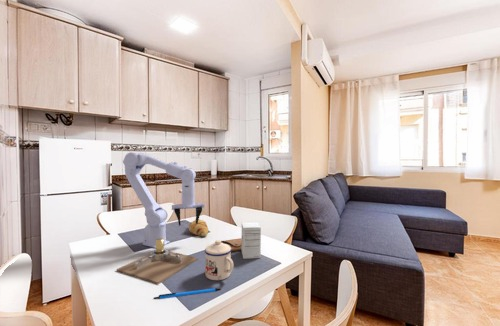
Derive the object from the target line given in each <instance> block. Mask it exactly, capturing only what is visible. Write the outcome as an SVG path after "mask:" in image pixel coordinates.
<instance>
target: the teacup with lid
mask: <svg viewBox="0 0 500 326" xmlns="http://www.w3.org/2000/svg"><path fill="white" fill-rule="evenodd" d="M221 241H222V240H221V239H217V240H215V241H214V242H213V243H211V244H208V245H207V246H206V247H205V248H204V253H205V254H204V255H205V256H204V259H205V261H204V262H205V263H204V264H205V265H204V266H205V270H204V271H205V274H204V275H205V277H206V278H207V279H209V280H211V281H223V280H225V279H226V280H227V278H229V277H230V275H231V273H232V272H233V270H234V267H235V266H234V261H233V259H232V258H231V257H232V256H231V254H232V253H231V247H230V246H229V245H227V244H224V243H221Z"/></svg>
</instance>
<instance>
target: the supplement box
mask: <svg viewBox="0 0 500 326" xmlns="http://www.w3.org/2000/svg"><path fill="white" fill-rule="evenodd" d="M261 230H262V229H261V225H260V224H259V222H258V221H257V222H255V221H252V222H241V238H242V251H241V254H242V259H261V258H262V256H261V253H262V252H261V251H262V250H261V246H262V245H261V244H262V243H261V241H262V239H261V238H262V237H261V235H262V233H261V232H262V231H261Z"/></svg>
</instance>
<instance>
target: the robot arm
mask: <svg viewBox="0 0 500 326" xmlns="http://www.w3.org/2000/svg"><path fill="white" fill-rule="evenodd" d="M122 163H123V165H124V172H125V173H124V174H125V178H126V179H127V180H128V182H129V184H130V186H131V188H132V189H133V191H134V192H135V194H136V196H137V198H138V199H139V201H140V203H141V204H142V206H143V207H144V215H145V218H146V223H147V224H146V226H145V227H144V230H143V243H142V245H143V246H147V247H151V248H155V249H156V239H159V238H163V239H164V246H165V245H167V244H170V241H169V240H167V238H166V237H167V235H166V233H167V230H166V229H167V227H166V225H167V222H166V220H168V219H167V218H168V212H167V210H166V209H164V208H163V207H162V205H160V204H159V203H157V201H156V199H155V198H154V196H153V195H152V193H151V192H150V190H149V188H148V187H147V185H146V183H145V182H144V179H143V178H142V176H141V174H140V173H141V171H142V169H143V168H144V167H145V165H151V166H154V167H156V168H159V169H162V170H164V171H165V172H166V174H167V175H170V176H171V177H174V178H177V179H180V180H181V203H179V204H171V211H174V213H175V215H176V219H177V222H178V226H181V224H182V223H181V210H188V209H195V220H196V224H198V219H199V220H200V216H201V214H202V212H203V209H205V203H204V202H202V203H201V202H199V203H196V200H195V199H196V198H195V197H196V196H195V192H196V191H195V187H196V186H195V185H196V184H195V178H196V177H197V173H196V171H195V170H194V169H192V168H187V166H182V165H180V164H178V162H176V161H174V162H166V161H164V160H161V159H158V158H156V157H155V156H152V155H150V154H145V153H143V152H128V153H127V154H125V155H124V158H123V160H122Z"/></svg>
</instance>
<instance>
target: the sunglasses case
mask: <svg viewBox="0 0 500 326" xmlns="http://www.w3.org/2000/svg"><path fill="white" fill-rule="evenodd" d="M220 241H221V243H224V244H227V245H229V246H230V247H231V254H234V253H240V252H241V253H242V237H240V238H233V239H228V240H226V239H225V240H220Z"/></svg>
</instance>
